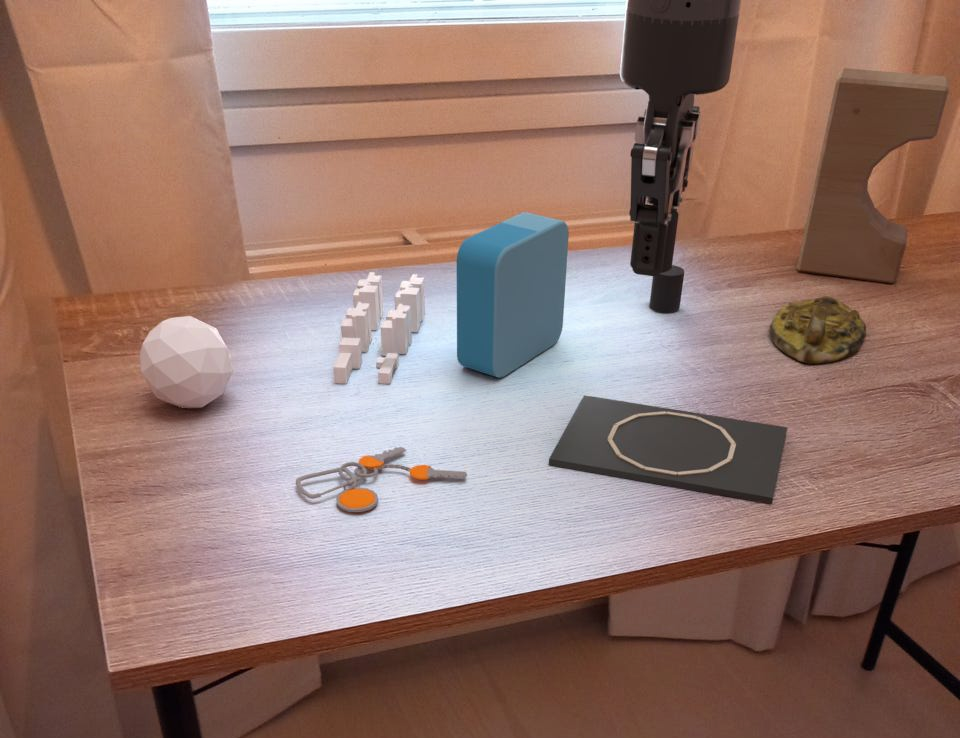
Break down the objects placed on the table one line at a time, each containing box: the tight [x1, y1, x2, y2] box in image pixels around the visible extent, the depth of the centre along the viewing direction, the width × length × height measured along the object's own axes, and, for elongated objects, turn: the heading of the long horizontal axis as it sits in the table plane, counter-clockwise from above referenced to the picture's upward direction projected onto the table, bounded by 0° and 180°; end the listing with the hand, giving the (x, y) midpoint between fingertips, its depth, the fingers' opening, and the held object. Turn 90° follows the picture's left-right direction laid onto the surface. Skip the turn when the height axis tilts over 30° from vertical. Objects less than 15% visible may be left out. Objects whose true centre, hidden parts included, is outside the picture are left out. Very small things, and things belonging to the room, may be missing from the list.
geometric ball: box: [138, 315, 234, 409], centre depth 89 cm, size 8×8×8 cm
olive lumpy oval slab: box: [769, 295, 867, 365], centre depth 103 cm, size 9×5×15 cm
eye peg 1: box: [629, 209, 680, 273], centre depth 78 cm, size 3×3×4 cm
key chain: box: [295, 446, 468, 513], centre depth 81 cm, size 13×7×1 cm, turn 119°
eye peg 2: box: [648, 264, 686, 314], centre depth 108 cm, size 3×3×4 cm
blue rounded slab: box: [456, 211, 570, 379], centre depth 96 cm, size 12×4×12 cm, turn 145°
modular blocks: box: [332, 271, 426, 395], centre depth 99 cm, size 20×7×4 cm, turn 176°
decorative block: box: [796, 67, 950, 285], centre depth 112 cm, size 11×6×20 cm, turn 69°
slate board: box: [548, 394, 788, 505], centre depth 86 cm, size 18×12×1 cm, turn 72°
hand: (651, 264), depth 79 cm, fingers closed on eye peg 1, 3 cm apart
